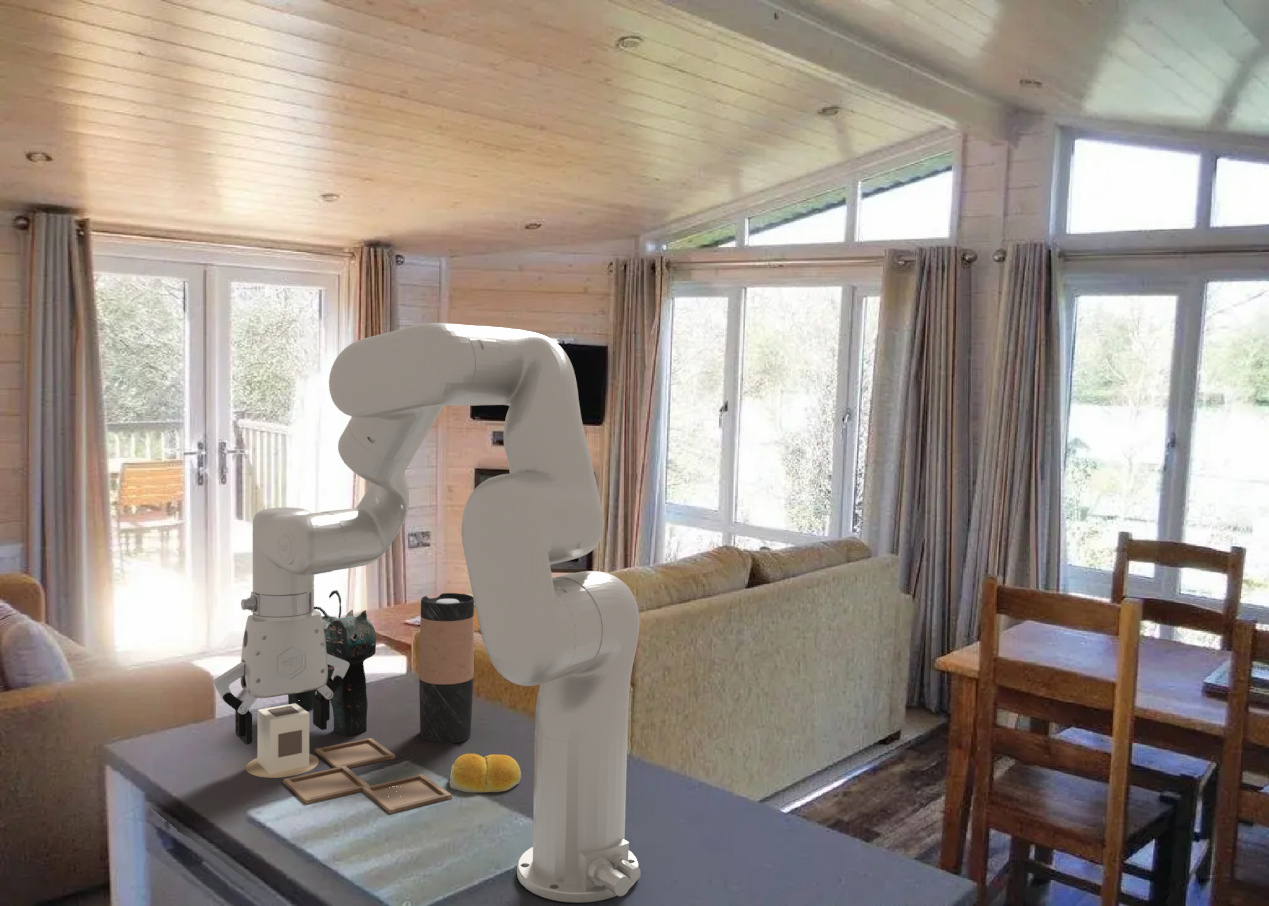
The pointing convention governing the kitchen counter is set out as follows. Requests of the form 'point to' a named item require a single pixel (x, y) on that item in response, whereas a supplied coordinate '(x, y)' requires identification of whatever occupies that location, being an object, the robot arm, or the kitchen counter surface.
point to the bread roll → (484, 773)
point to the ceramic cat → (354, 646)
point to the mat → (258, 770)
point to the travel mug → (446, 667)
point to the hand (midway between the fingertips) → (283, 734)
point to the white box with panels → (283, 738)
